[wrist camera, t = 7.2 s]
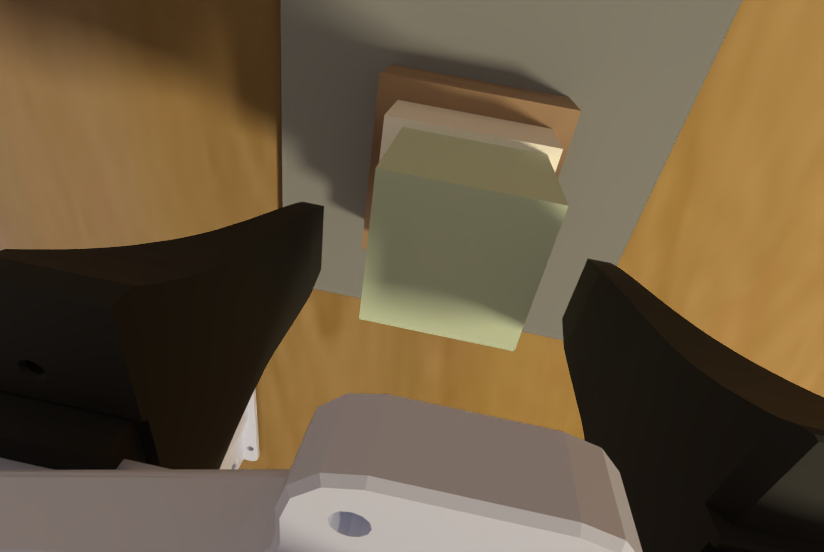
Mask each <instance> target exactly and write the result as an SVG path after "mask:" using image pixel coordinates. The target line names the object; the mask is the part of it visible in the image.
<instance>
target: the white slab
mask: <svg viewBox="0 0 824 552" xmlns="http://www.w3.org/2000/svg"><path fill="white" fill-rule="evenodd" d="M402 127H407V128H412V129H417V130H422V131H427V132H433V133H438V134H443V135H448V136H453V137H459V138H464V139H469V140H474V141H479V142H485V143H490V144H495V145H500V146H506V147H511V148H516V149H521V150H526V151H532V152H537V153H542V154H547V155H548V157H549V160H550V162H551V164H552V167H553V169H554V172H556V169H557V166H558V163H559V160H560V157H561V154H562V151H563V148H562V146H561V144H560V142H559V140H558V138H557V137H556V135H555V133H554V131H553V129H550V128H545V127H540V126H535V125H529V124H524V123H519V122H513V121H508V120H503V119H497V118H492V117H487V116H482V115H476V114H471V113H466V112H460V111H455V110H450V109H444V108H439V107H434V106H429V105H423V104H418V103H413V102H407V101H402V100H397V101H396V102H395V103H394V105H393V106H392V107H391V108H390V109H389V110H388V111H387V113H386V114H385V115H384V123H383V132H382V140H381V149H380V158H379V162H380V160H381V159H382V157H383V156H384V154H385V153H386V151H387V150H388V148H389V147H390V145H391V144H392V142H393V141H394V139H395V138H396V136H397V134H398V133H399V131H400V130H401V128H402Z"/></svg>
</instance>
